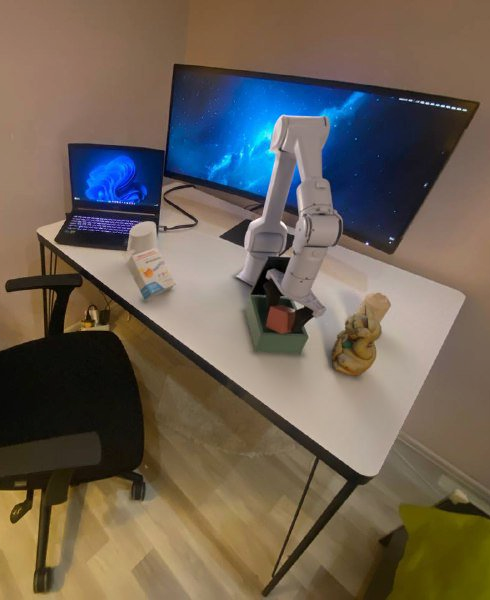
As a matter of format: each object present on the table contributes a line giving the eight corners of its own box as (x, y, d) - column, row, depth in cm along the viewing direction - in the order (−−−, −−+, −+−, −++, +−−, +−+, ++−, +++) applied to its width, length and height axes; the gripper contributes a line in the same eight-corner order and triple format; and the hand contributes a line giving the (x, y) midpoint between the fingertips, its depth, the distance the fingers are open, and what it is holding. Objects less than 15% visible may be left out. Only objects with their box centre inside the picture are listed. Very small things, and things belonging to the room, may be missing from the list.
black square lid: (317, 261, 74) (313, 243, 77) (267, 258, 74) (264, 242, 77) (293, 297, 86) (289, 281, 89) (250, 295, 87) (248, 279, 89)
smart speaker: (129, 256, 110) (129, 215, 100) (158, 258, 109) (160, 218, 100) (124, 274, 103) (123, 232, 93) (155, 277, 102) (157, 235, 92)
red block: (265, 326, 80) (270, 306, 79) (278, 324, 83) (283, 304, 81) (280, 333, 77) (285, 312, 75) (293, 331, 79) (299, 311, 77)
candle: (351, 330, 86) (369, 300, 80) (349, 316, 90) (366, 286, 84) (375, 336, 85) (395, 306, 78) (372, 322, 89) (391, 292, 82)
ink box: (150, 294, 89) (125, 245, 91) (144, 300, 94) (120, 253, 96) (176, 283, 93) (152, 236, 95) (169, 290, 97) (146, 245, 99)
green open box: (300, 354, 80) (308, 337, 77) (254, 351, 81) (260, 334, 77) (285, 313, 91) (292, 297, 87) (245, 311, 91) (249, 295, 87)
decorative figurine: (326, 344, 83) (352, 296, 73) (363, 352, 81) (395, 305, 71) (329, 375, 76) (358, 327, 66) (370, 385, 74) (406, 338, 64)
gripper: (346, 286, 66) (320, 335, 74) (290, 248, 75) (273, 295, 84) (319, 296, 63) (296, 346, 72) (265, 256, 73) (251, 304, 82)
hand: (282, 319), depth 78 cm, fingers open, 7 cm apart
